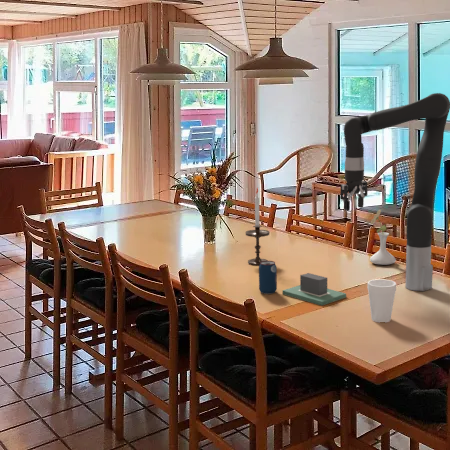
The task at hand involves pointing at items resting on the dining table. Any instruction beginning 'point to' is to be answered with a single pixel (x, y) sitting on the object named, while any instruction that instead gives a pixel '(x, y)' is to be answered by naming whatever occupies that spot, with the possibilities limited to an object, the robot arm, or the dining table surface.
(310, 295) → the pin board
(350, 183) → the robot arm
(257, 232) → the candlestick
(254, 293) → the dining table surface
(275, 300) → the dining table surface
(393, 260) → the flower in vase
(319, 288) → the block
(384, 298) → the foam cup
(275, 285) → the soda can
